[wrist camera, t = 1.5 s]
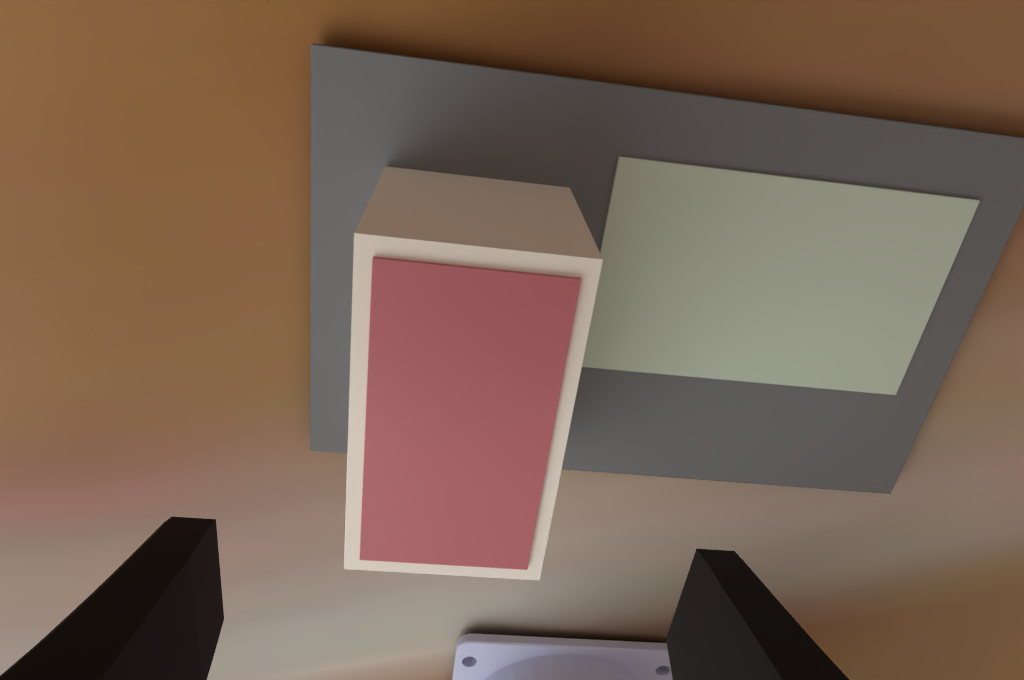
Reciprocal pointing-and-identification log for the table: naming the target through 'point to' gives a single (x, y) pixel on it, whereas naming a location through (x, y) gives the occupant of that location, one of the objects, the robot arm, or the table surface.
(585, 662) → the robot arm
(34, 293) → the table surface
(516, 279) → the card box
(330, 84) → the mat
